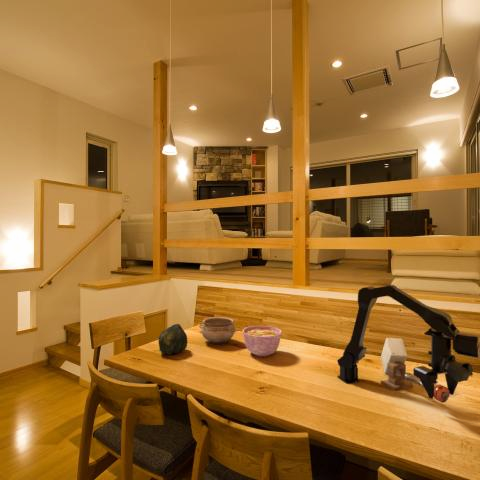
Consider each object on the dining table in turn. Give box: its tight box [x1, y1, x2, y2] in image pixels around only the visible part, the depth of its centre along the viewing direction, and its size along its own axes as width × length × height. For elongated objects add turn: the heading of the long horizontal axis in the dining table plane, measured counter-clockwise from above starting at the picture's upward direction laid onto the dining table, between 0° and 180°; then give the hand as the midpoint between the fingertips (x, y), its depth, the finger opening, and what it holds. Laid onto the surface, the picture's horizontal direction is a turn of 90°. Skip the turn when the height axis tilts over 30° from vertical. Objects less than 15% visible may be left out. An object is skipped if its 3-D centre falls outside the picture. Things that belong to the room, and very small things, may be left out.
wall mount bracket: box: [380, 361, 414, 391], centre depth 120 cm, size 10×6×8 cm, turn 108°
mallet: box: [404, 373, 450, 403], centre depth 109 cm, size 5×16×5 cm, turn 18°
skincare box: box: [380, 337, 408, 375], centre depth 128 cm, size 8×7×16 cm
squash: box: [157, 323, 188, 355], centre depth 156 cm, size 14×15×15 cm
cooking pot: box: [198, 316, 239, 345], centre depth 172 cm, size 25×19×12 cm
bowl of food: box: [242, 325, 282, 357], centre depth 154 cm, size 20×20×12 cm
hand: (441, 396), depth 102 cm, fingers open, 9 cm apart
